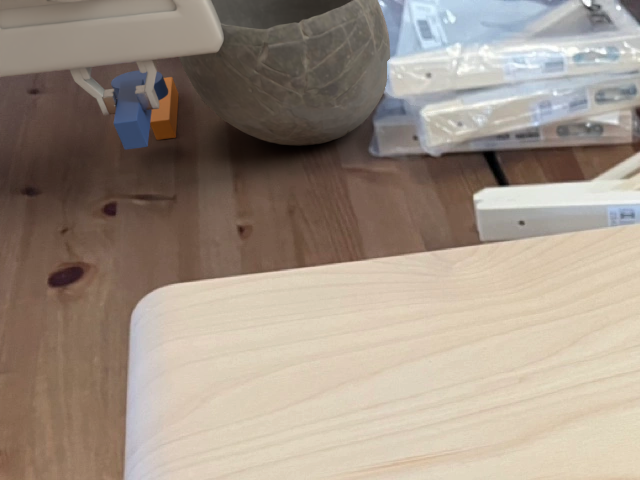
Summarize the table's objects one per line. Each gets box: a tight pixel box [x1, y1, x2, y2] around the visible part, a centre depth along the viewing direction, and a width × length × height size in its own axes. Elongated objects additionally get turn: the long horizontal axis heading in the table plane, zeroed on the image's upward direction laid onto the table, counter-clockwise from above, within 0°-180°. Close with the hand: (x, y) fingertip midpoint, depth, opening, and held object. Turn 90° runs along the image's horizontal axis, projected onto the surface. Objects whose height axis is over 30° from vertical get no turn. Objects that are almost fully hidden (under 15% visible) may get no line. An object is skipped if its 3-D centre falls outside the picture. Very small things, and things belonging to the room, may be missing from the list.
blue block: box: [110, 69, 168, 151], centre depth 98 cm, size 15×5×2 cm, turn 19°
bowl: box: [178, 0, 391, 146], centre depth 106 cm, size 20×20×15 cm
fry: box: [150, 76, 180, 141], centre depth 113 cm, size 12×2×2 cm, turn 19°
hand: (132, 109), depth 96 cm, fingers closed on blue block, 2 cm apart
